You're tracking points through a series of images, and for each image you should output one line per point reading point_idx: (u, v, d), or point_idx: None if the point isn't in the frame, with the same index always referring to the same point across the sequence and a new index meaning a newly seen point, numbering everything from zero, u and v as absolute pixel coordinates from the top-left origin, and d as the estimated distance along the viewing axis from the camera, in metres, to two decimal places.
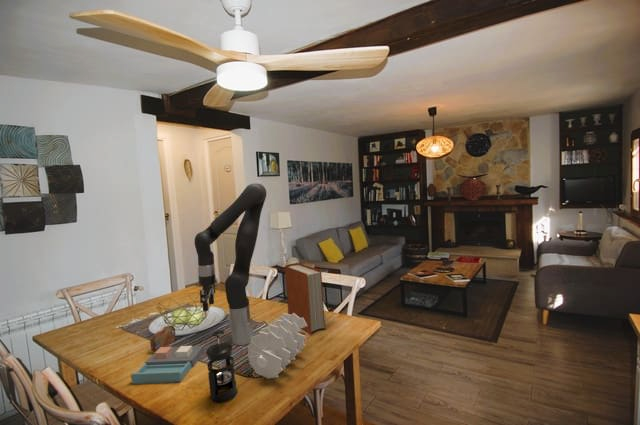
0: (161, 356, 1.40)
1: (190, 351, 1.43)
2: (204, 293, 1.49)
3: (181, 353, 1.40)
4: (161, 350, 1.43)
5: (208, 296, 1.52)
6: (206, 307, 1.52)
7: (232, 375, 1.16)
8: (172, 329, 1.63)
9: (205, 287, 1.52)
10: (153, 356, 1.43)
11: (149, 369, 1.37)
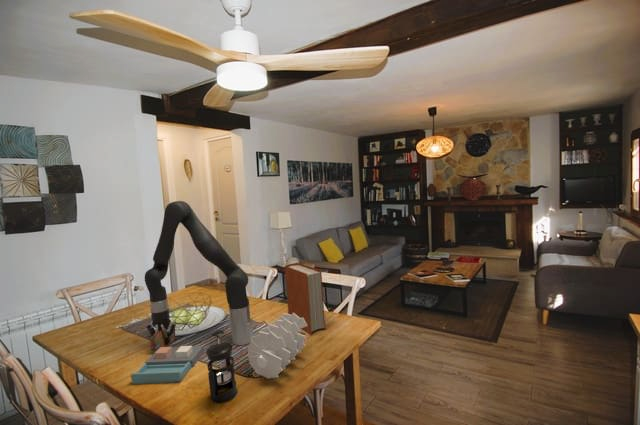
0: (161, 356, 1.40)
1: (190, 351, 1.43)
2: (175, 325, 1.57)
3: (181, 353, 1.40)
4: (161, 350, 1.43)
5: (168, 328, 1.58)
6: None
7: (232, 375, 1.16)
8: None
9: (169, 319, 1.56)
10: (153, 356, 1.43)
11: (149, 369, 1.37)
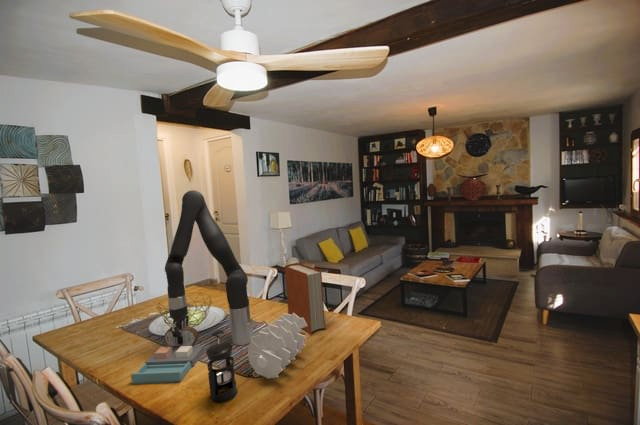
0: (161, 356, 1.40)
1: (190, 351, 1.43)
2: None
3: (181, 353, 1.40)
4: (161, 350, 1.43)
5: None
6: None
7: (232, 375, 1.16)
8: None
9: None
10: (153, 356, 1.43)
11: (149, 369, 1.37)
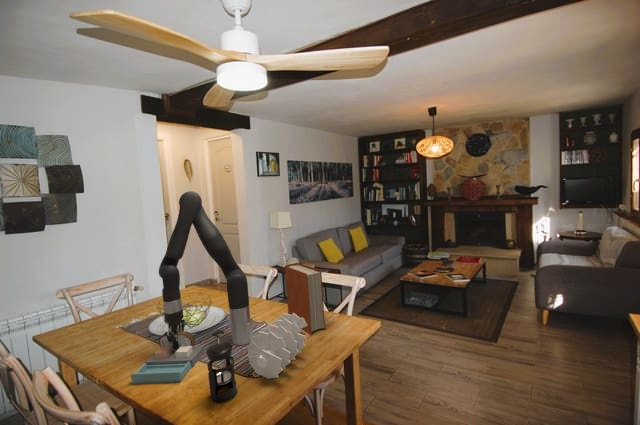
0: (161, 356, 1.40)
1: (190, 351, 1.43)
2: None
3: (181, 353, 1.40)
4: (161, 350, 1.43)
5: None
6: None
7: (232, 375, 1.16)
8: None
9: None
10: (153, 356, 1.43)
11: (149, 369, 1.37)
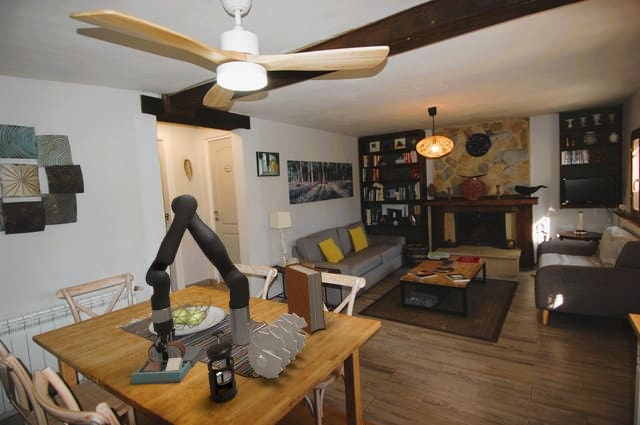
0: None
1: (181, 364, 1.34)
2: None
3: None
4: (151, 366, 1.34)
5: None
6: None
7: (232, 375, 1.16)
8: None
9: None
10: None
11: None
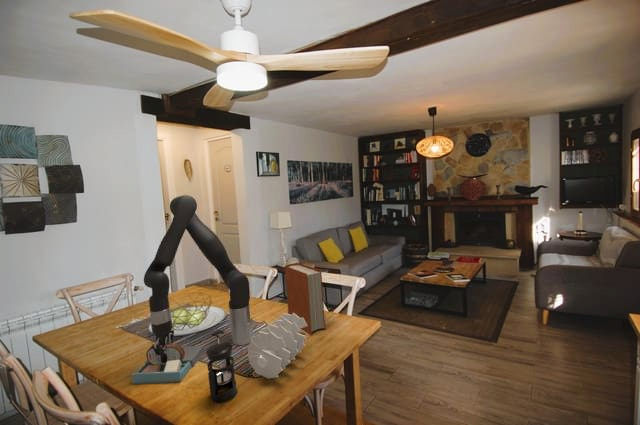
0: None
1: (179, 366, 1.33)
2: None
3: None
4: (149, 368, 1.32)
5: None
6: None
7: (232, 375, 1.16)
8: None
9: None
10: None
11: None
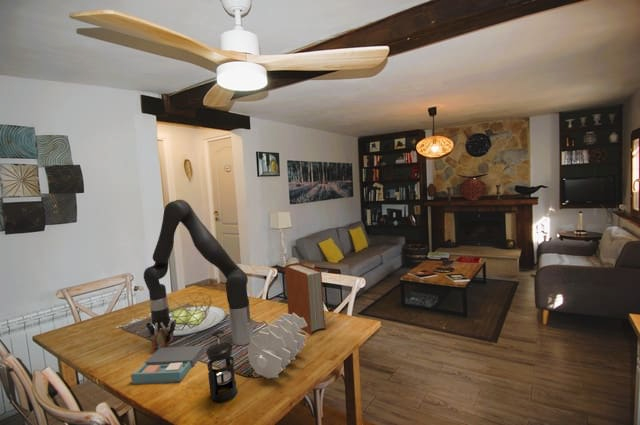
0: None
1: (181, 368, 1.34)
2: (175, 323, 1.57)
3: None
4: (149, 368, 1.32)
5: None
6: None
7: (232, 375, 1.16)
8: None
9: (168, 317, 1.56)
10: (153, 356, 1.43)
11: None
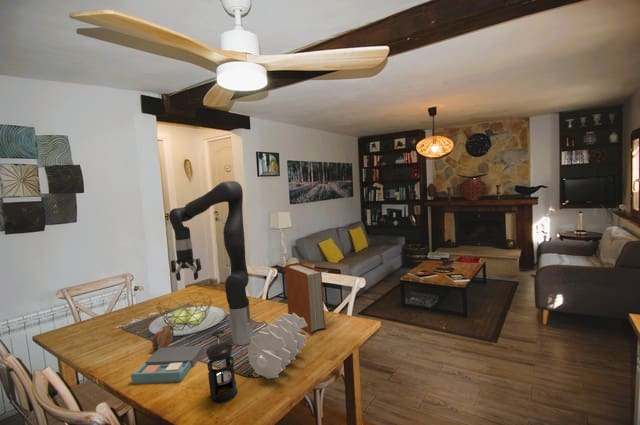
0: None
1: (181, 368, 1.34)
2: (199, 261, 1.66)
3: None
4: (149, 368, 1.32)
5: (194, 265, 1.67)
6: None
7: (232, 375, 1.16)
8: (170, 329, 1.63)
9: (192, 258, 1.65)
10: (153, 356, 1.43)
11: None
